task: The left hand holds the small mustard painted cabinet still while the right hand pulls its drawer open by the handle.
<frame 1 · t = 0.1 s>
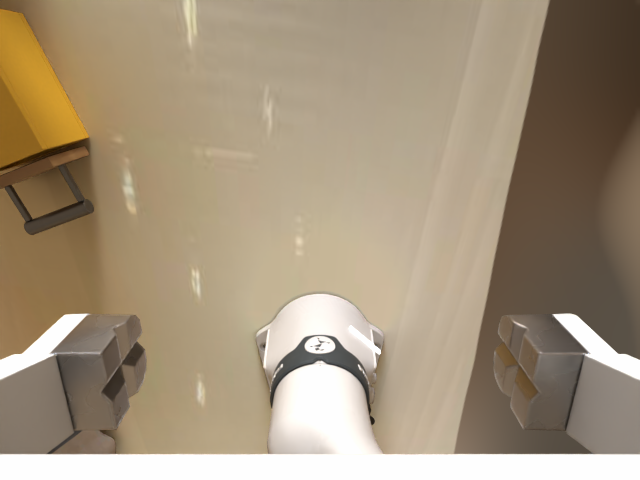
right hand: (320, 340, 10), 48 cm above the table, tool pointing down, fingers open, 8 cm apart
cabinet: (19, 94, 54), on the table
arrowhead: (79, 455, 74), on the table
drawer: (20, 143, 51), point 5 cm above the table, slide at 0.7 cm
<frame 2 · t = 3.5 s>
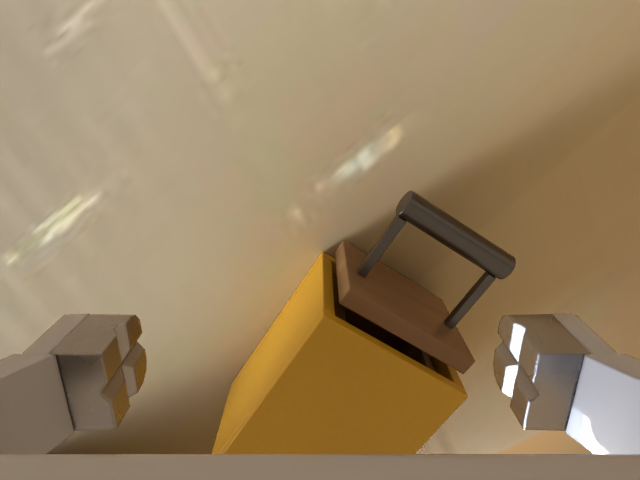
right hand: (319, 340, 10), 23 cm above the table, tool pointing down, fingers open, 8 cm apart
cabinet: (327, 350, 38), on the table
drawer: (371, 334, 31), point 5 cm above the table, slide at 0.7 cm
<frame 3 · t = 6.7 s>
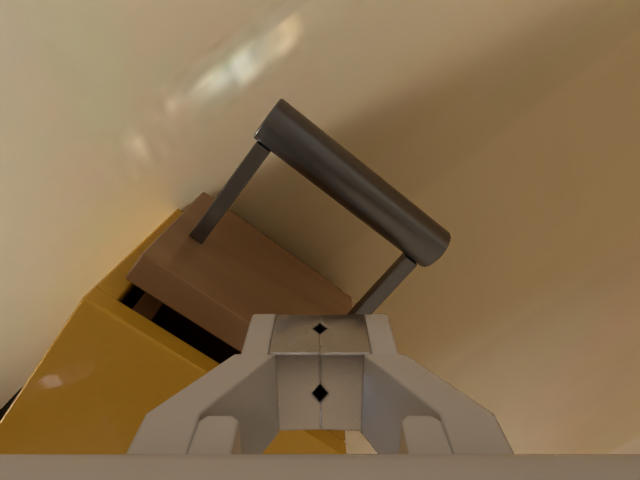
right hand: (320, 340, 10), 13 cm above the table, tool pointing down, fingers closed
cabinet: (188, 357, 26), on the table, touching left hand
drawer: (224, 339, 20), point 5 cm above the table, slide at 0.7 cm
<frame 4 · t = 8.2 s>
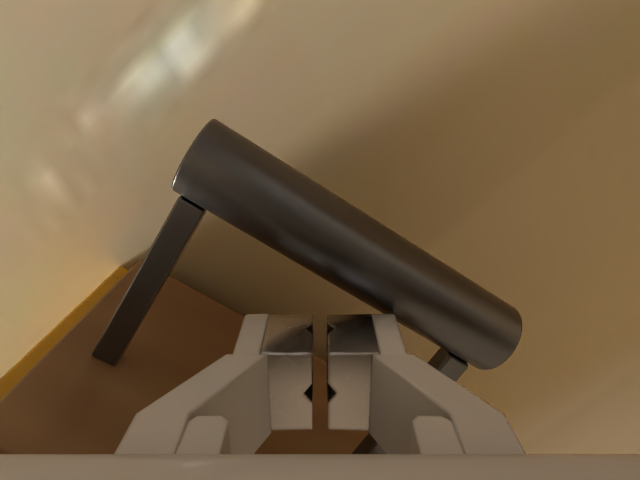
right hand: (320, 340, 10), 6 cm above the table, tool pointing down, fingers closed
cabinet: (161, 460, 19), on the table, touching left hand
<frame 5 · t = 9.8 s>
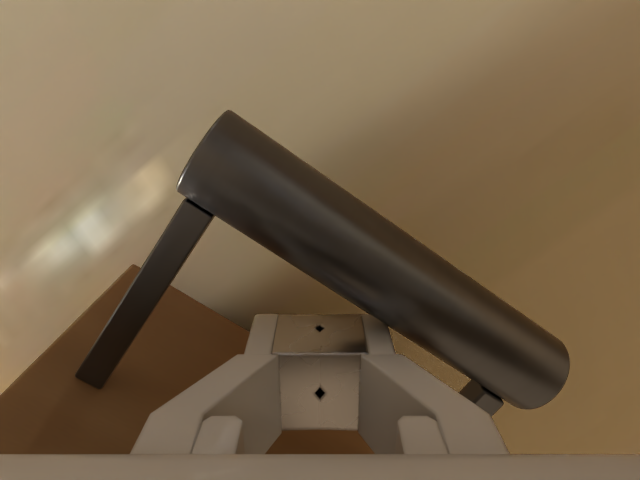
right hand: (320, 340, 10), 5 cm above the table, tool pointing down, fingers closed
when the left hand's fingers open (5 cm above the table, at t = 11.4 s): cabinet stays where it is, on the table.
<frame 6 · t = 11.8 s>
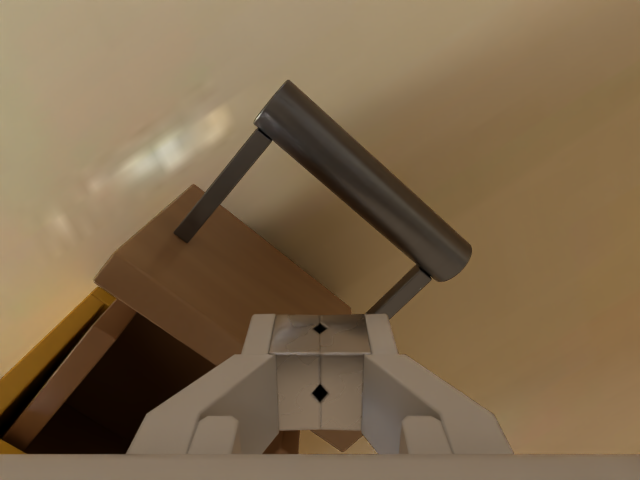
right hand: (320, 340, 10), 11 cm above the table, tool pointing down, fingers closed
cabinet: (110, 428, 25), on the table
drawer: (208, 350, 18), point 5 cm above the table, slide at 6.6 cm
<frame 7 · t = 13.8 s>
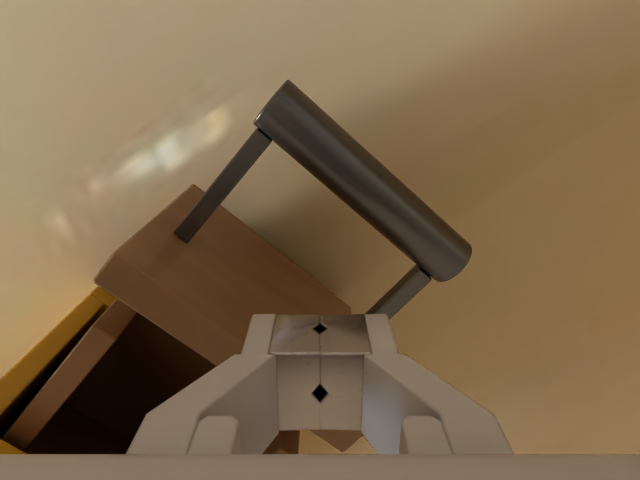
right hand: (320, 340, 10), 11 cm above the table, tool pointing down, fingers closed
cabinet: (110, 428, 25), on the table
drawer: (208, 350, 18), point 5 cm above the table, slide at 6.6 cm
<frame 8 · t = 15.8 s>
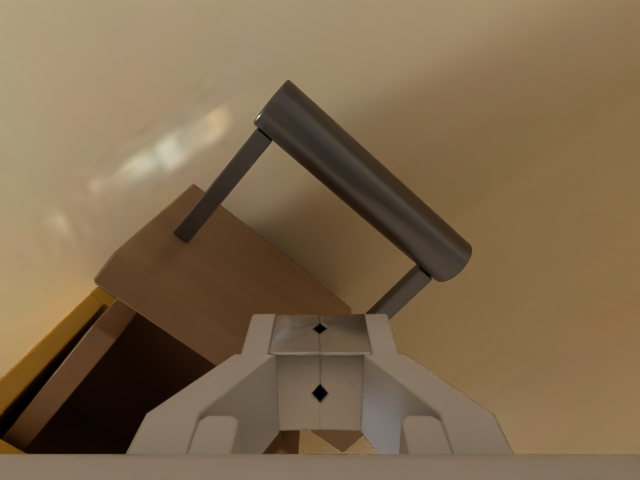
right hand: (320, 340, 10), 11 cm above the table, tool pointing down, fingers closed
cabinet: (110, 428, 25), on the table
drawer: (208, 350, 18), point 5 cm above the table, slide at 6.6 cm
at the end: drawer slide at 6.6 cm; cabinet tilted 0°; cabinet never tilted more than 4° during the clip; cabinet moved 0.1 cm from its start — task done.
